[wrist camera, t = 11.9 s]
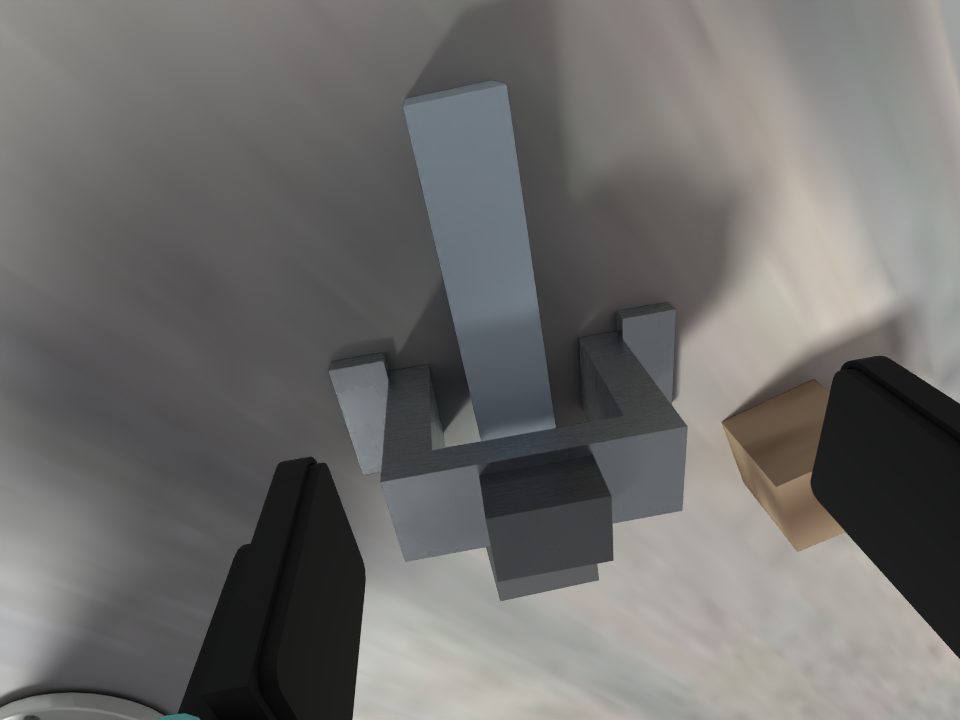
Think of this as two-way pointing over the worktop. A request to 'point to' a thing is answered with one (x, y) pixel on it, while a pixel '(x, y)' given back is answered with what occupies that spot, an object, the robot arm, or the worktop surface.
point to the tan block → (785, 461)
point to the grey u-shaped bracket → (527, 456)
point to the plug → (487, 270)
